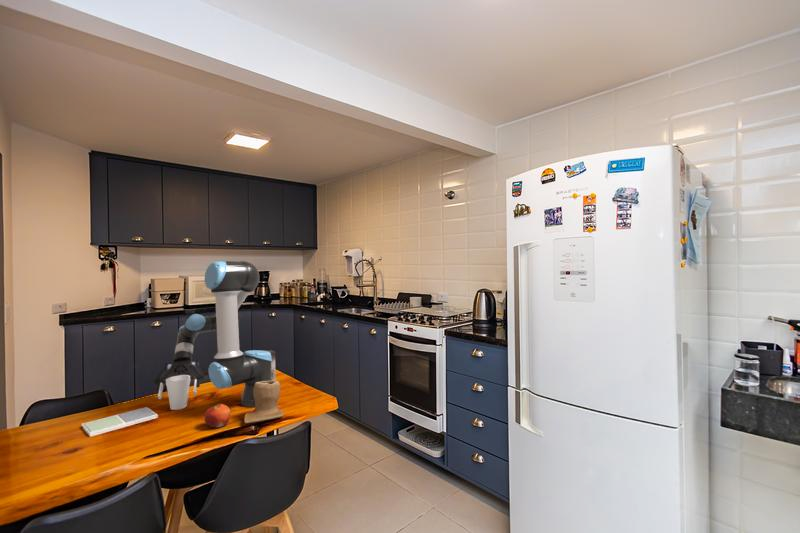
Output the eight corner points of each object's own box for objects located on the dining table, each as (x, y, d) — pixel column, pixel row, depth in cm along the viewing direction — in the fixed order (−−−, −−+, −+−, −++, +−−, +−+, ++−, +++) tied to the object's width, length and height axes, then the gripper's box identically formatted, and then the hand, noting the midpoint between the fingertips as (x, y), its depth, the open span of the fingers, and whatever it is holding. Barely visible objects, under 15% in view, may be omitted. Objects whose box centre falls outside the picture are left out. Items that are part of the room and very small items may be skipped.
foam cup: (195, 405, 168) (194, 376, 168) (173, 412, 160) (173, 382, 160) (183, 402, 172) (182, 374, 173) (161, 408, 164) (161, 379, 165)
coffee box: (258, 384, 196) (258, 354, 196) (254, 382, 201) (254, 352, 201) (275, 381, 202) (275, 351, 202) (271, 378, 207) (271, 349, 207)
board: (157, 417, 155) (157, 414, 155) (90, 436, 138) (90, 432, 138) (146, 409, 164) (146, 406, 164) (81, 426, 147) (81, 423, 147)
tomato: (235, 423, 147) (235, 403, 147) (212, 432, 139) (212, 411, 139) (222, 418, 152) (222, 399, 152) (199, 427, 145) (199, 406, 145)
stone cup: (280, 410, 161) (279, 375, 161) (285, 420, 150) (284, 382, 150) (242, 417, 154) (241, 380, 154) (244, 428, 143) (244, 389, 143)
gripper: (213, 356, 185) (209, 395, 171) (154, 361, 176) (146, 403, 162) (211, 347, 180) (207, 387, 166) (151, 352, 171) (142, 395, 157)
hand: (177, 395), depth 164 cm, fingers open, 13 cm apart
